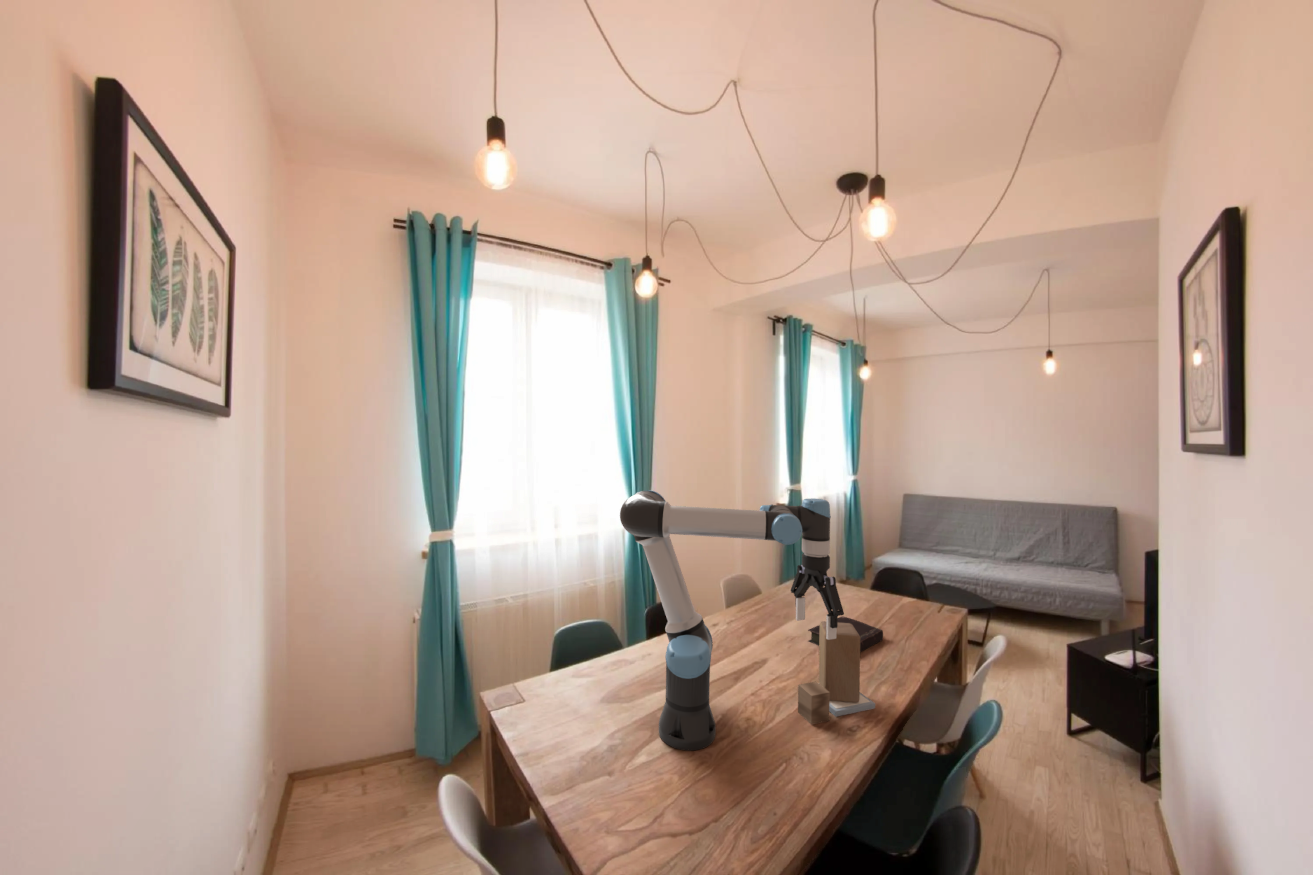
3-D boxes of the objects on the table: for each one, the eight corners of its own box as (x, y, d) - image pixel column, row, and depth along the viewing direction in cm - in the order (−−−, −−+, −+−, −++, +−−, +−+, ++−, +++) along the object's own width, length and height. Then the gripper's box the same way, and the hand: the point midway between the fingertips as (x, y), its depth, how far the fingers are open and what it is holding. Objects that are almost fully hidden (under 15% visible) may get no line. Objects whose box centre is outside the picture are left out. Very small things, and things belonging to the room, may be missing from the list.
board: (835, 716, 131) (835, 710, 131) (805, 690, 144) (805, 685, 144) (875, 708, 135) (875, 702, 135) (841, 683, 149) (841, 678, 149)
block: (860, 704, 134) (861, 635, 134) (824, 700, 136) (825, 632, 136) (851, 686, 144) (852, 622, 144) (818, 683, 146) (819, 619, 146)
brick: (811, 724, 127) (811, 695, 127) (797, 712, 133) (798, 684, 133) (829, 720, 129) (829, 692, 129) (815, 708, 135) (815, 681, 135)
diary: (883, 642, 182) (884, 629, 182) (851, 660, 166) (851, 646, 166) (839, 626, 196) (839, 614, 196) (805, 641, 181) (806, 628, 181)
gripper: (858, 564, 120) (857, 645, 120) (800, 543, 144) (799, 611, 144) (834, 566, 118) (834, 649, 118) (779, 544, 142) (778, 614, 142)
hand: (815, 628), depth 131 cm, fingers open, 13 cm apart
